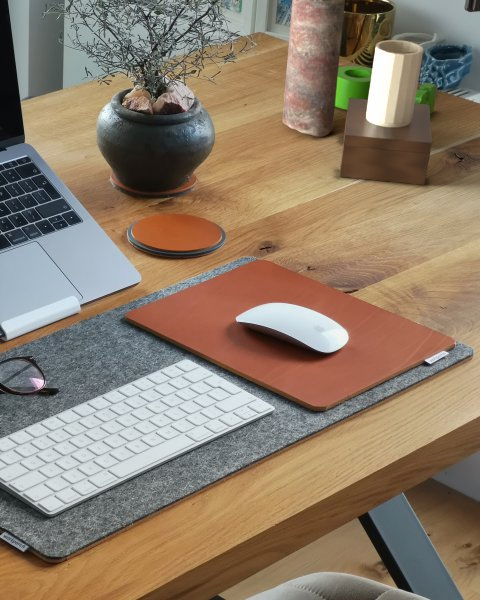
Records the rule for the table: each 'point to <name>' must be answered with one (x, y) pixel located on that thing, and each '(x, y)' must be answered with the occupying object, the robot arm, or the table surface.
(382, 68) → the pen cup
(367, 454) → the table surface
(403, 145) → the dark walnut wood block
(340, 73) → the tape dispenser
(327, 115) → the candle
